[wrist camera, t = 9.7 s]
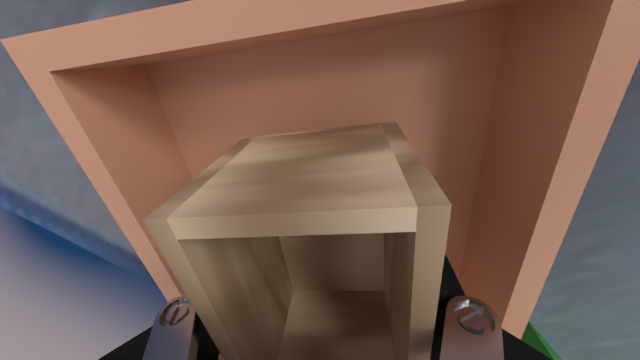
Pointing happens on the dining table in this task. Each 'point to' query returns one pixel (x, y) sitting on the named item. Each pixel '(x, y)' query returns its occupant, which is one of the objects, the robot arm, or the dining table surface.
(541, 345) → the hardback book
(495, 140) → the terracotta crate
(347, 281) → the pine crate
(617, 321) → the dining table surface
